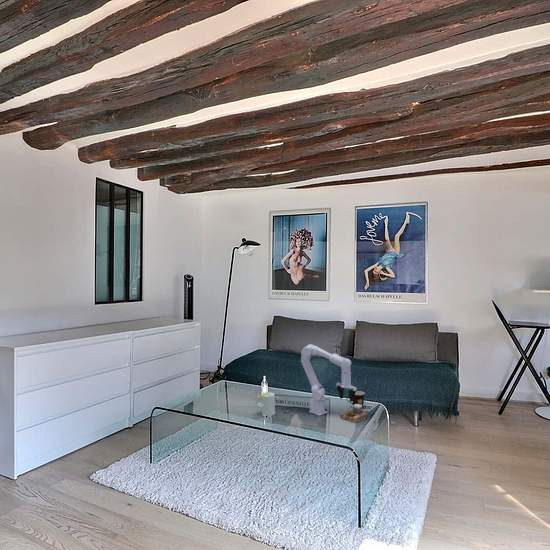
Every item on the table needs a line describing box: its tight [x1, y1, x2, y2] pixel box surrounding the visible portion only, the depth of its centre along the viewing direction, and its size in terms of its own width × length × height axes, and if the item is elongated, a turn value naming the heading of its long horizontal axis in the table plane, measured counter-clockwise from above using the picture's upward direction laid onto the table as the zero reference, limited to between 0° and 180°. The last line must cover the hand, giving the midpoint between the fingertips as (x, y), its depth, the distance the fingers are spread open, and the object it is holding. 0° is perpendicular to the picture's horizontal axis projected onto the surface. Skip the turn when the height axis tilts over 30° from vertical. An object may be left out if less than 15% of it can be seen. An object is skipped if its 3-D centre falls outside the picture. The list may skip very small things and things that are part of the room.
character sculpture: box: [256, 391, 277, 415], centre depth 267 cm, size 20×12×13 cm, turn 145°
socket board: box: [340, 408, 370, 424], centre depth 259 cm, size 11×14×3 cm
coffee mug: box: [346, 390, 365, 410], centre depth 276 cm, size 12×9×10 cm
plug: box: [352, 404, 363, 414], centre depth 261 cm, size 4×4×7 cm
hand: (346, 399), depth 262 cm, fingers open, 7 cm apart
